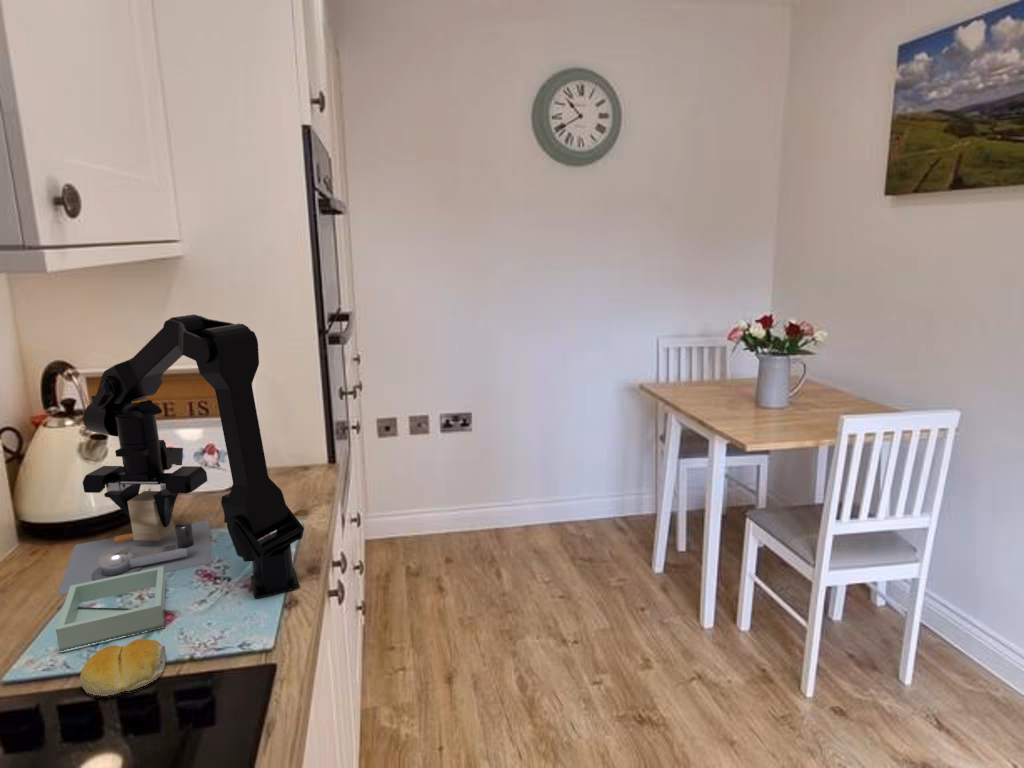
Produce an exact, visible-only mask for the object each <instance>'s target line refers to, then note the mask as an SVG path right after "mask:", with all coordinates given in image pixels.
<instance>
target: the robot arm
mask: <svg viewBox="0 0 1024 768" xmlns="http://www.w3.org/2000/svg"><path fill="white" fill-rule="evenodd" d="M259 355H260V354H259V341H258V338H257V335H256V333H255V332H254V331H253V330H251V328H250V327H248V326H247V325H245V324H244V323H232V322H229V321H221V320H215V319H210V318H208V317H207V318H206V317H204V316H202V315H198V314H187V315H181V316H174V317H173V316H171V317H170V318H169V319H167V320H166V321H164V323H163V327H162V328H161V329H160V330H159V331H158V332H157V333H156V334H155V335H153V336H152V338H151V339H150V340H149V341H148V342H147V343H146V344H145V345H144V346H143V347H141V349H140V350H138V352H137V353H136V354H135V355H134V356H133V357H131V358H129V359H127V360H125V361H122V362H119V363H116V364H114V365H113V366H111V367H109V368H108V369H107V368H106V369H105V370H104V371H103V373H102V375H101V379H100V382H99V385H98V387H97V392H96V394H94V395H91V403H90V404H88V405H87V407H86V408H85V409H84V412H83V416H82V422H83V425H84V427H86V429H88V430H89V431H91V432H93V433H97V434H101V435H107V436H111V437H118V441H119V446H120V447H119V448H118V449H116V450H115V452H114V453H115V457H117V458H118V457H119V458H120V457H121V460H122V465H103V466H101V467H98V468H97V469H94V470H93V471H91V472H89V473H87V474H86V475H85V476H84V477H83V479H82V487H83V488H82V489H83V492H84V493H90V494H91V493H92V494H93V493H94V494H97V493H101V492H103V491H104V490H105V488H106V492H105V493H104V497H105V498H109V499H110V500H111V501H112V502H113V503H114V504H115V505H116V506H117V507H118V508H120V510H122V512H123V513H124V514H125V515H126V516H127V517H128V518H129V519H130V514H129V509H128V503H127V501H129V500H131V499H132V498H134V497H135V496H137V495H139V494H140V489H141V486H142V485H153V486H155V485H158V486H159V485H160V490H158V491H159V492H157V493H156V494H154V495H153V497H154V500H155V503H156V506H157V510H158V513H159V516H160V520H161V522H162V524H163V526H164V527H167V526H168V525H169V524H170V520H171V516H172V515H173V511H174V508H175V503H176V502H177V498H178V496H179V494H181V495H182V494H189V493H192V492H194V491H195V490H197V489H198V488H199V487H201V486H202V485H204V484H205V483H206V482H208V474H207V471H206V469H205V468H204V467H203V466H195V465H194V466H193V465H192V466H191V465H189V466H183V454H184V448H183V447H167V444H166V442H165V439H160V437H159V431H158V425H157V418H156V415H160V414H162V413H163V410H162V408H161V407H160V406H159V405H156V404H155V403H154V402H153V401H152V399H147V398H149V397H152V396H154V395H156V393H157V392H158V390H159V389H160V387H161V386H162V384H163V382H164V380H163V378H162V376H163V375H164V373H165V372H166V371H168V370H169V368H171V367H172V366H173V365H174V364H175V363H176V362H177V361H178V360H179V359H181V358H182V357H183V356H185V357H186V358H188V359H190V360H193V361H195V363H196V365H197V369H198V371H199V374H200V376H202V378H204V380H205V381H206V382H207V383H208V384H209V385H210V386H211V387H212V388H213V389H214V391H215V398H216V401H217V406H218V411H219V417H220V422H221V428H222V433H223V438H224V442H225V449H226V453H227V458H228V464H229V470H230V474H231V478H232V479H231V480H232V486H231V489H230V492H229V493H227V494H224V495H223V496H221V501H220V504H221V507H222V509H223V510H222V511H223V515H224V517H223V518H224V520H223V522H224V524H226V527H227V531H228V534H229V537H230V539H231V541H232V544H233V547H234V550H235V552H236V555H237V556H238V557H239V558H242V561H243V562H251V565H252V573H253V575H251V576H250V584H251V588H252V594H253V598H254V599H259V598H262V597H267V596H271V595H272V596H273V595H276V594H279V593H284V592H288V591H292V590H296V589H299V588H300V581H299V579H298V576H297V573H296V569H295V567H294V565H293V554H292V544H293V543H295V542H297V541H299V540H301V539H303V536H304V532H305V531H304V530H305V528H304V526H303V524H302V523H301V522H300V521H299V520H298V518H297V517H296V516H295V514H294V513H293V512H292V510H291V509H290V508H289V506H288V505H287V503H286V500H285V497H284V493H283V490H282V489H281V488H279V486H278V485H277V484H276V483H275V482H274V481H273V480H272V479H271V478H270V476H269V472H268V467H267V461H266V455H265V451H264V444H263V439H262V435H261V433H262V432H261V429H260V423H259V416H258V413H257V405H256V401H255V395H254V390H253V383H254V379H255V376H256V374H257V371H258V368H259V365H260V356H259ZM145 399H147V400H145ZM141 400H144V401H141ZM137 401H139V402H137ZM173 465H176V466H181V467H179V468H177V469H176V470H174V471H173V472H165V471H168V470H170V469H172V468H173Z"/></svg>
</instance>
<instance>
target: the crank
mask: <svg viewBox="0 0 1024 768" xmlns="http://www.w3.org/2000/svg"><path fill="white" fill-rule="evenodd" d="M191 523H192V522H189V521H185V522H180V523H177V524H175V525H174V526H175V531H176V537H177V544H176V545H171V546H166V547H161V548H156V549H151V550H146V551H141V552H136V553H131V549H130V548H129V547H116V548H112V549H109V550H106V551H104V552H102V553H101V554H100V555H99V556H98V559H99V564H100V570H101V573H102V574H104V575H114V574H118V573H122V572H124V571H126V570H128V569H130V568H132V567H137V566H141V565H146V564H151V563H156V562H161V561H166V560H171V559H175V558H180V557H185V556H187V548H188V547H191V546H193V545H194V539H193V532H192V525H191Z"/></svg>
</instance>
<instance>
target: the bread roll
mask: <svg viewBox="0 0 1024 768" xmlns="http://www.w3.org/2000/svg"><path fill="white" fill-rule="evenodd" d="M166 657H167V654H166V646H165V645H163V644H161V643H160V642H159V641H158V640H154V639H150V638H138V639H135V640H132V641H131V642H129V643H127V644H126V645H124V646H123V645H109V646H106V647H103V648H101V649H100V650H98V651H96V653H94V654H93V655H92V656H91V657H90V658H89V659H88V660H87V661H86V662H85V664H84V665H83V667H82V669H81V671H80V677H79V680H80V683H81V687H82V689H83V690H84V692H86V694H88V693H89V694H88V695H90V694H93V695H99V696H100V695H101V696H108V695H114V694H117V693H120V692H123V693H125V692H124V691H130V690H134V689H137V688H140V687H143V686H146V685H147V684H149V683H151V682H152V683H153V681H154V680H155V681H157V679H159V678H161V676H162V675H163V672H164V669H165V668H166V659H167V658H166ZM165 658H166V659H165ZM158 677H159V678H158ZM155 681H154V682H155ZM152 683H151V684H152ZM149 685H150V684H149ZM147 686H148V685H147ZM147 686H146V687H147Z"/></svg>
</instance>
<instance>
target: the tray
mask: <svg viewBox="0 0 1024 768" xmlns="http://www.w3.org/2000/svg"><path fill="white" fill-rule="evenodd" d="M166 585H167V578H166V573H165V571H164V566H162V567H157V568H153V569H148V570H143V571H138V572H133V573H129V574H124V575H119V576H114V577H110V578H105V579H100V580H95V581H90V582H86V583H81V584H76V585H71V586H70V589H69V592H68V594H66V596H65V601H64V603H63V607H62V610H61V613H60V615H59V618H58V620H57V621H58V622H57V625H56V627H55V633H56V638H57V644H58V648H59V652H60V651H64V650H67V649H71V648H75V647H79V646H84V645H88V644H92V643H96V642H101V641H106V640H109V639H114V638H119V637H122V636H128V635H132V634H137V633H142V632H145V631H150V630H153V629H158V628H161V627H164V628H165V626H164V622H165V621H166V610H165V609H166V608H165V603H166V602H165V601H166V587H167V586H166ZM153 587H155V591H154V592H155V593H154V603H152V604H148V605H144V606H139V607H134V608H125V607H124V608H123V607H122V608H121V607H89V606H87V607H85V606H84V607H83V606H82V607H81V606H79V605H80V603H85V602H89V601H93V600H98V599H103V598H106V597H107V598H108V597H111V596H116V595H121V594H125V593H130V592H135V591H139V590H143V589H148V588H153ZM165 623H166V622H165Z"/></svg>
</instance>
